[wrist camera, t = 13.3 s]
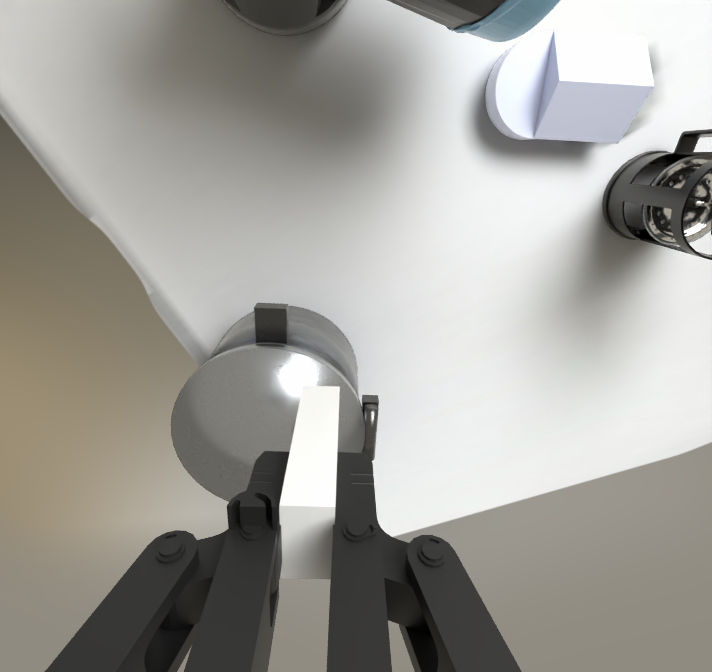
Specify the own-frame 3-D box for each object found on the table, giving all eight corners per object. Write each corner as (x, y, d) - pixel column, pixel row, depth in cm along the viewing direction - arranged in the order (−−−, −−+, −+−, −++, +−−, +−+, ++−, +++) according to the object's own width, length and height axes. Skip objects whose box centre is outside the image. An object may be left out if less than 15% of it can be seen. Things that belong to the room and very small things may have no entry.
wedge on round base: (623, 44, 43) (493, 36, 42) (670, 25, 36) (518, 14, 36) (599, 144, 46) (478, 137, 46) (638, 142, 40) (499, 134, 39)
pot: (208, 274, 51) (169, 307, 39) (377, 281, 51) (385, 315, 40) (223, 450, 60) (195, 516, 49) (365, 454, 61) (369, 520, 50)
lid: (164, 340, 40) (154, 352, 37) (382, 345, 41) (385, 356, 39) (185, 501, 47) (177, 518, 45) (370, 500, 48) (372, 517, 46)
